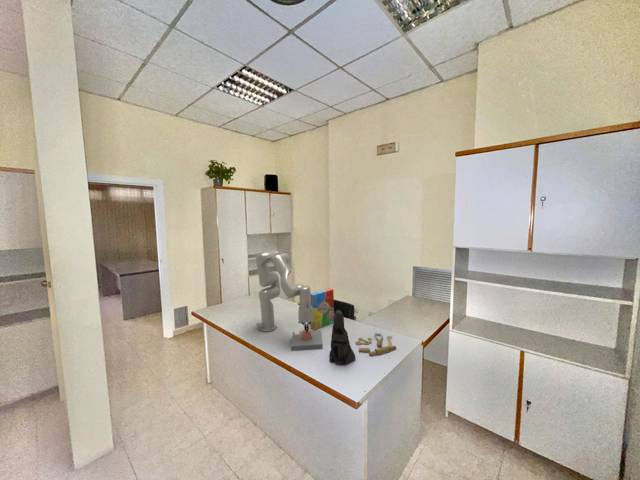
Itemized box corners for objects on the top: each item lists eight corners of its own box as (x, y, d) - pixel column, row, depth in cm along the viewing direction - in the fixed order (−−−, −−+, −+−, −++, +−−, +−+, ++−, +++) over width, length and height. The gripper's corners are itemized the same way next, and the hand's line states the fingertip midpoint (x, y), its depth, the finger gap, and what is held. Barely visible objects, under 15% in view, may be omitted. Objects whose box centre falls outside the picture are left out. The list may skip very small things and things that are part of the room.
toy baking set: (377, 330, 187) (377, 325, 187) (407, 343, 167) (407, 338, 167) (345, 345, 167) (345, 340, 166) (376, 362, 147) (376, 356, 147)
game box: (314, 330, 190) (312, 295, 187) (309, 328, 194) (308, 293, 191) (334, 322, 203) (333, 289, 200) (330, 320, 207) (329, 287, 204)
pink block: (302, 344, 170) (302, 334, 169) (302, 340, 176) (302, 330, 175) (311, 343, 170) (311, 333, 169) (311, 339, 176) (310, 329, 175)
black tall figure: (339, 368, 141) (337, 316, 138) (324, 358, 152) (322, 309, 150) (357, 359, 149) (356, 310, 146) (341, 350, 160) (340, 304, 158)
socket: (291, 350, 162) (291, 344, 162) (293, 335, 182) (292, 330, 182) (322, 348, 163) (322, 343, 163) (320, 334, 183) (320, 329, 183)
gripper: (294, 307, 166) (295, 334, 168) (316, 305, 167) (318, 332, 169) (294, 303, 174) (296, 329, 175) (316, 302, 174) (317, 327, 176)
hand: (306, 330), depth 172 cm, fingers closed
